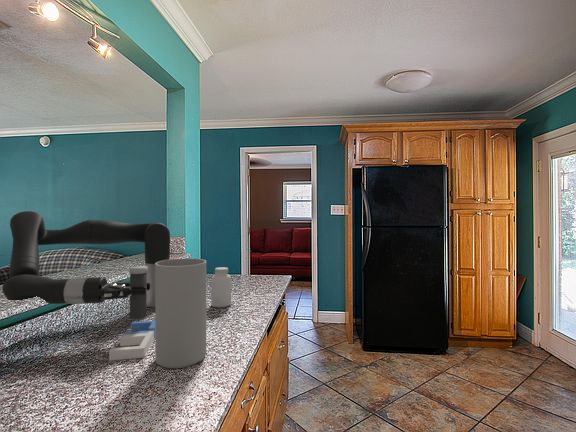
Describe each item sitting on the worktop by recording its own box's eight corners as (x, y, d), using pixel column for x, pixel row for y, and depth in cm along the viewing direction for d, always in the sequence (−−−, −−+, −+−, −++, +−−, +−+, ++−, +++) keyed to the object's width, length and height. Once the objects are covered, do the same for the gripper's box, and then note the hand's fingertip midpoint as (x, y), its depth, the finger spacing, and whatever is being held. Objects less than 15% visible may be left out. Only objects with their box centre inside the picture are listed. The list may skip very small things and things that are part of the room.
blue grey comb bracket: (109, 360, 79) (109, 348, 79) (132, 329, 100) (132, 319, 100) (144, 357, 81) (144, 345, 81) (160, 327, 101) (160, 318, 101)
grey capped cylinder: (125, 317, 94) (126, 267, 94) (141, 312, 99) (141, 265, 98) (134, 320, 92) (135, 269, 91) (150, 315, 96) (150, 267, 96)
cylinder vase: (177, 375, 72) (177, 268, 72) (145, 361, 79) (144, 263, 79) (216, 354, 83) (216, 261, 83) (184, 343, 90) (184, 257, 89)
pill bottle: (234, 303, 129) (234, 267, 129) (224, 308, 121) (224, 270, 121) (218, 301, 131) (218, 265, 131) (207, 306, 124) (207, 269, 124)
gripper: (96, 296, 99) (153, 294, 103) (75, 310, 85) (142, 307, 89) (96, 273, 99) (153, 271, 103) (75, 283, 85) (142, 281, 88)
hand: (147, 288), depth 96 cm, fingers closed on grey capped cylinder, 4 cm apart
